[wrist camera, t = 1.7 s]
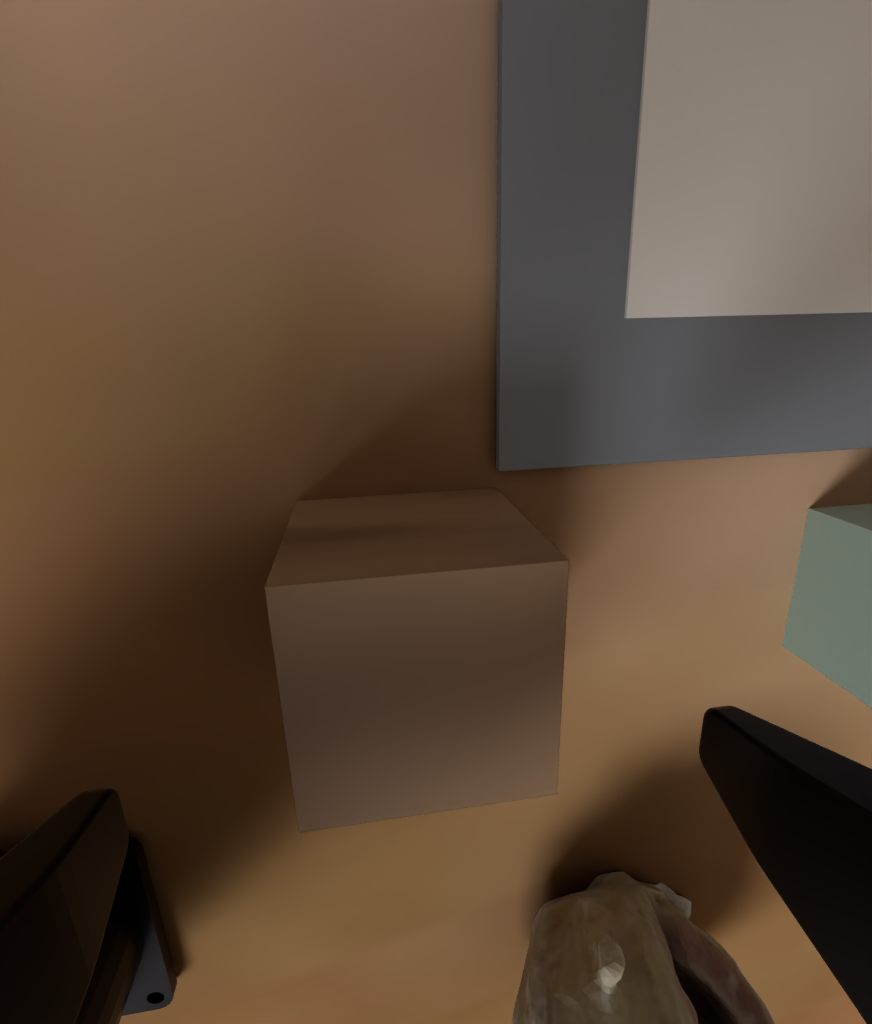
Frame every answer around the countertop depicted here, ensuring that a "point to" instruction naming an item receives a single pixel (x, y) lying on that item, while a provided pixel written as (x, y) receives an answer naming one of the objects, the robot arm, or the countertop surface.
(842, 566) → the sage block
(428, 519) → the walnut block
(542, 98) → the gray mat
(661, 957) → the grey rough rounded lump
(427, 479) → the countertop surface
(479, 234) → the countertop surface
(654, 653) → the countertop surface
